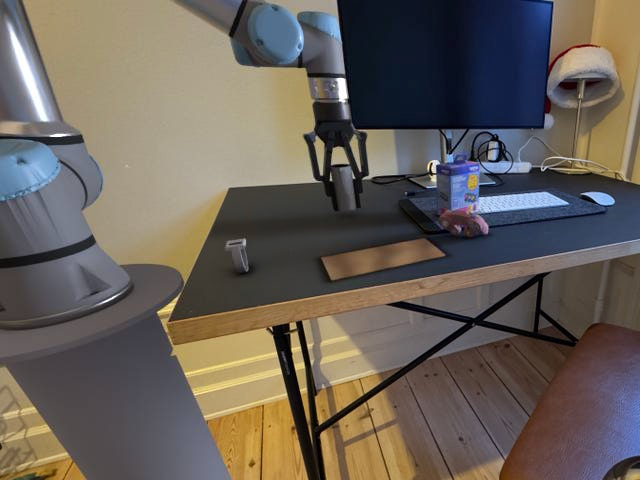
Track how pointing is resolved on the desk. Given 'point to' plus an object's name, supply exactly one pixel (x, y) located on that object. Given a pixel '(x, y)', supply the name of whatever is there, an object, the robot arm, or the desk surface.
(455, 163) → the ink cartridge box
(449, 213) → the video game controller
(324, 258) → the cork mat
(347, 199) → the planter
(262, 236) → the desk surface
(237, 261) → the wristwatch
